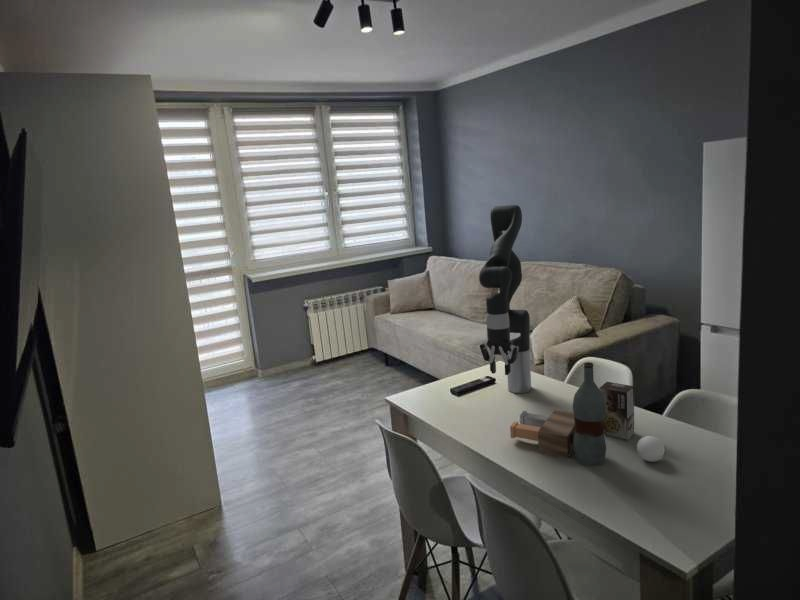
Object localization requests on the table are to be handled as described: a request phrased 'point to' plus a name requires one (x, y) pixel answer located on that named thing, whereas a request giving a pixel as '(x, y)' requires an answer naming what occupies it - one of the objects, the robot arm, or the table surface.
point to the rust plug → (524, 431)
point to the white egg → (650, 448)
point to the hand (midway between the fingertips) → (500, 373)
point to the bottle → (589, 421)
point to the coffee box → (618, 409)
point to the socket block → (557, 434)
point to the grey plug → (532, 419)
